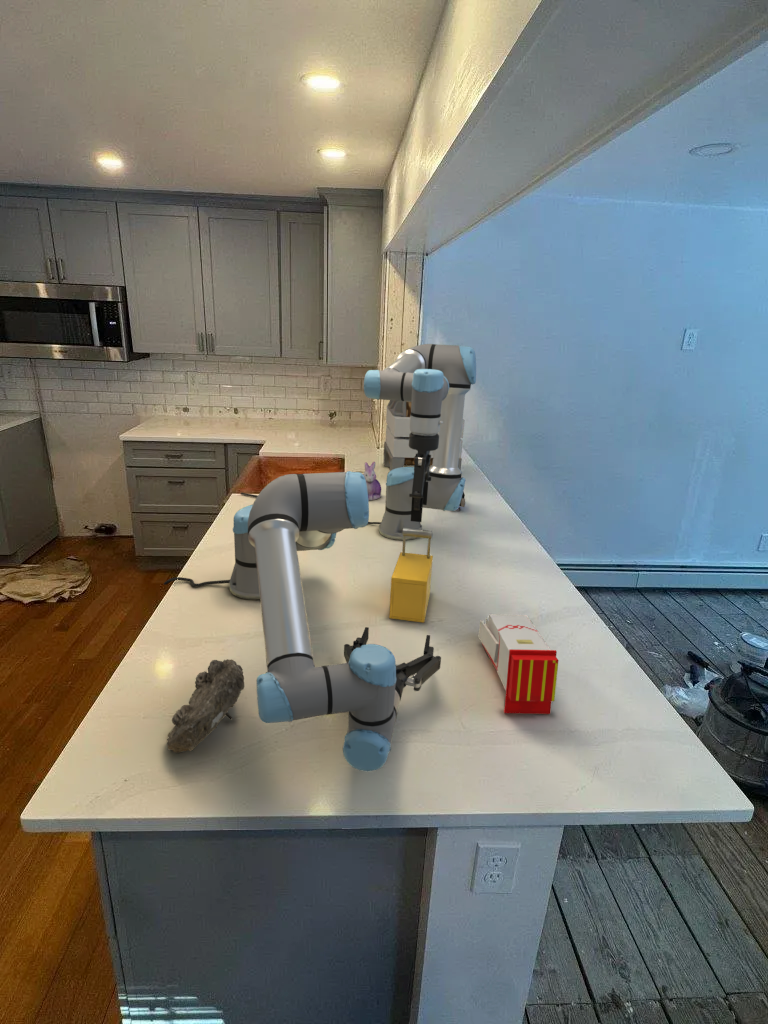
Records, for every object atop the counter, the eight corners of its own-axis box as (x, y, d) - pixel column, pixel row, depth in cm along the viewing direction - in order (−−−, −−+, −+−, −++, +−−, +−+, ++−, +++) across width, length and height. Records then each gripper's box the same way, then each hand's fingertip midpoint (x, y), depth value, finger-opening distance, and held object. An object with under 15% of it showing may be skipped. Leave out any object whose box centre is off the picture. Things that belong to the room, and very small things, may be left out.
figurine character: (465, 515, 224) (460, 499, 237) (467, 498, 221) (462, 483, 234) (448, 515, 224) (444, 499, 237) (450, 498, 220) (445, 482, 234)
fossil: (192, 660, 117) (244, 628, 112) (224, 691, 120) (276, 661, 115) (142, 746, 98) (202, 712, 93) (182, 779, 101) (242, 748, 96)
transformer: (382, 463, 289) (386, 382, 275) (445, 464, 293) (451, 384, 279) (390, 482, 257) (394, 392, 243) (460, 483, 261) (468, 394, 247)
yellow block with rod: (400, 555, 157) (402, 525, 154) (432, 559, 155) (435, 528, 152) (391, 581, 142) (392, 548, 139) (426, 585, 140) (429, 552, 137)
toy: (524, 600, 137) (567, 656, 108) (520, 651, 140) (560, 720, 111) (474, 599, 137) (504, 655, 107) (471, 650, 140) (498, 719, 110)
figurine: (366, 502, 230) (367, 466, 225) (355, 494, 239) (356, 460, 234) (386, 499, 235) (388, 464, 229) (375, 492, 243) (377, 458, 238)
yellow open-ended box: (398, 590, 160) (400, 556, 156) (429, 594, 159) (432, 560, 155) (389, 618, 145) (391, 581, 142) (424, 622, 144) (426, 585, 140)
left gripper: (315, 704, 108) (341, 643, 127) (446, 723, 104) (452, 658, 124) (315, 670, 105) (342, 614, 125) (449, 689, 102) (455, 628, 121)
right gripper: (435, 444, 130) (428, 530, 137) (442, 424, 153) (437, 499, 161) (402, 442, 131) (398, 527, 138) (415, 422, 154) (410, 496, 162)
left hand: (397, 636), depth 124 cm, fingers open, 13 cm apart
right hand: (419, 512), depth 150 cm, fingers open, 13 cm apart
